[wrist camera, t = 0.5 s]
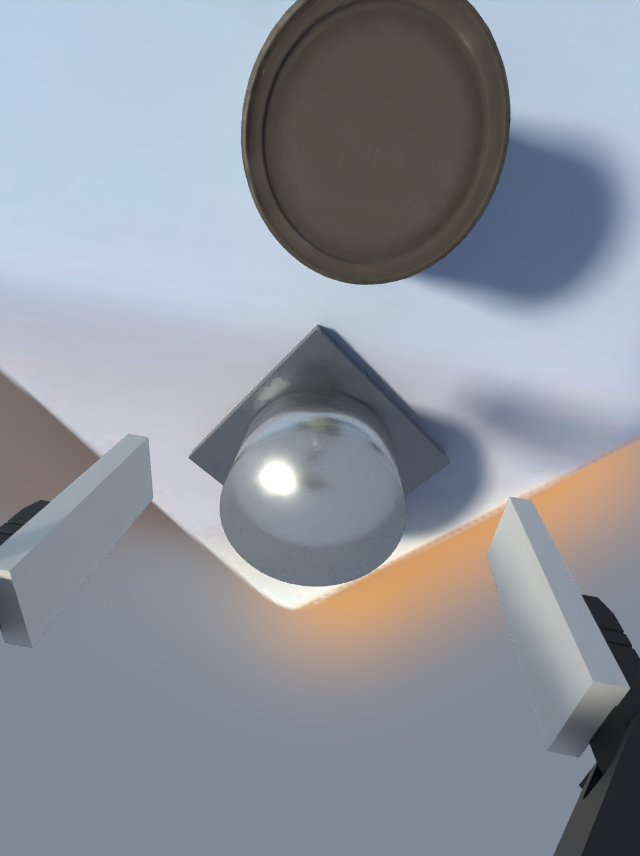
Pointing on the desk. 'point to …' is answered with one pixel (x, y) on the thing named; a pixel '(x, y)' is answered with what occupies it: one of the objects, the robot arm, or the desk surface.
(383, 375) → the desk surface
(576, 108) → the desk surface
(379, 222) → the coffee can
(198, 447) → the door knob
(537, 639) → the robot arm
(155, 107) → the desk surface
